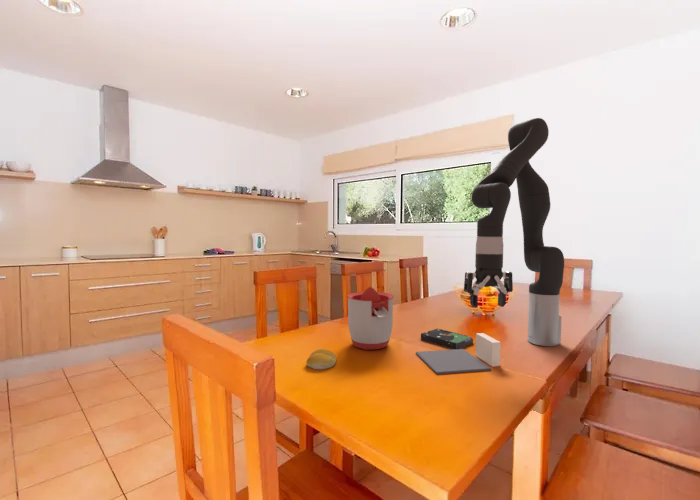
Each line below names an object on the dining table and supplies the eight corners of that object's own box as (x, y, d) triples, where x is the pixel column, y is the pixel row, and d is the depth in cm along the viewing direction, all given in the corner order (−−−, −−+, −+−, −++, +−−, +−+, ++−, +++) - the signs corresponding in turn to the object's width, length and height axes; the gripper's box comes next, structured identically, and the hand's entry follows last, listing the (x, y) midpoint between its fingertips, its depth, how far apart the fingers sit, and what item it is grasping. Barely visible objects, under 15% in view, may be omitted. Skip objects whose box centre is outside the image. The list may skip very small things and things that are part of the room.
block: (483, 355, 109) (483, 332, 108) (500, 366, 100) (500, 342, 100) (475, 355, 108) (476, 333, 108) (492, 366, 100) (492, 342, 99)
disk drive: (420, 341, 124) (457, 351, 113) (420, 333, 124) (457, 342, 113) (437, 335, 131) (473, 344, 120) (437, 328, 131) (473, 336, 120)
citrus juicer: (360, 357, 107) (360, 292, 106) (340, 340, 123) (340, 284, 122) (404, 350, 113) (405, 289, 112) (380, 335, 129) (380, 282, 128)
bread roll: (303, 369, 98) (303, 355, 98) (312, 358, 107) (312, 345, 107) (332, 371, 97) (332, 357, 96) (338, 359, 105) (338, 346, 105)
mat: (463, 350, 113) (463, 348, 113) (491, 370, 97) (491, 368, 97) (415, 353, 110) (415, 351, 110) (436, 374, 94) (436, 372, 94)
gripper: (503, 251, 107) (502, 303, 108) (460, 251, 105) (459, 304, 106) (519, 252, 100) (517, 308, 101) (473, 253, 98) (471, 310, 99)
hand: (487, 306), depth 103 cm, fingers open, 8 cm apart
